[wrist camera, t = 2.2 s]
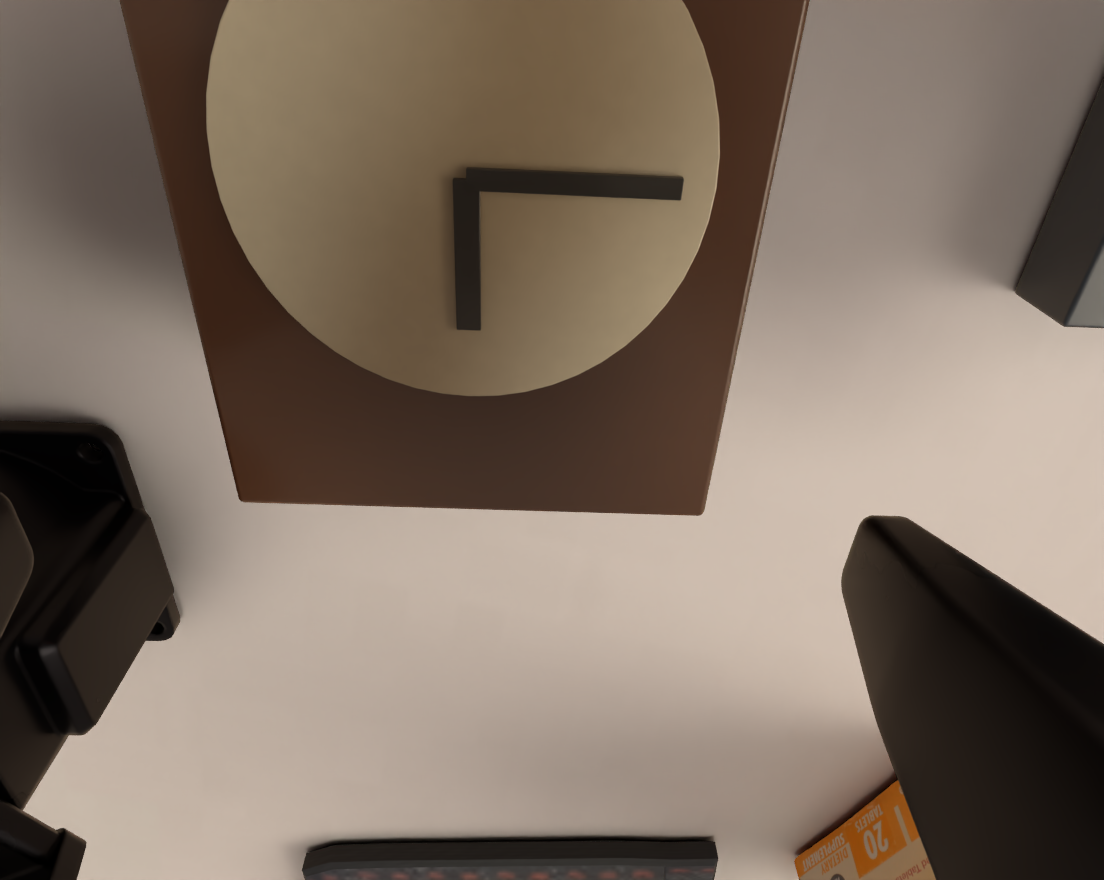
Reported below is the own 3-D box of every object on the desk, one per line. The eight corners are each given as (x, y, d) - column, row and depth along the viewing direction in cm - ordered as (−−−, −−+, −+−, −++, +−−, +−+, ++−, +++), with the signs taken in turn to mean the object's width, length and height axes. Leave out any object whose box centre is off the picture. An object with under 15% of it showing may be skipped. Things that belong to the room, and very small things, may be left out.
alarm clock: (309, 376, 14) (230, 517, 11) (175, -494, 8) (-120, -861, 4) (666, 389, 14) (708, 531, 11) (794, -446, 8) (985, -759, 5)
